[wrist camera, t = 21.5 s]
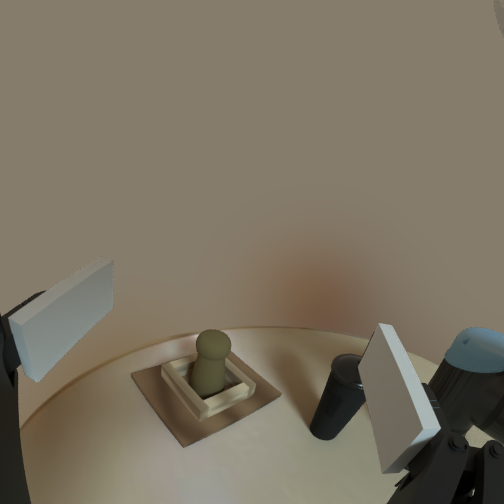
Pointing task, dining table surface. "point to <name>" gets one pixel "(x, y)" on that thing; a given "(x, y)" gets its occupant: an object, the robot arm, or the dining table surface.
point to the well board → (196, 409)
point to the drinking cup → (339, 397)
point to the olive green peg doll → (210, 363)
